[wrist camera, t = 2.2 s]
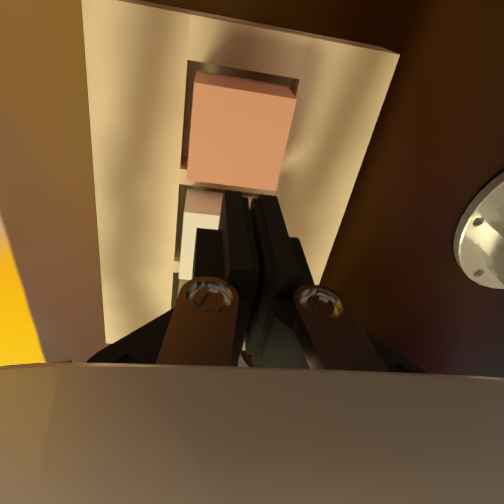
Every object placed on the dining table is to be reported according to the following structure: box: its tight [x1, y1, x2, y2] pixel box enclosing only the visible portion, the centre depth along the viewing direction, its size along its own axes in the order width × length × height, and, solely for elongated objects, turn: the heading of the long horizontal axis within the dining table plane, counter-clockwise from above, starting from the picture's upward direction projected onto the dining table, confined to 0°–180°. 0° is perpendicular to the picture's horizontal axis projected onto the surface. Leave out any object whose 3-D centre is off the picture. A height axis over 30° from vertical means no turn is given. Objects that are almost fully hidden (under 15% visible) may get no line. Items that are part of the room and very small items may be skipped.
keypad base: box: [82, 0, 400, 351], centre depth 27 cm, size 16×24×3 cm, turn 170°
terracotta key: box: [186, 70, 297, 191], centre depth 21 cm, size 5×5×3 cm
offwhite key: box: [179, 189, 258, 280], centre depth 25 cm, size 5×5×3 cm
